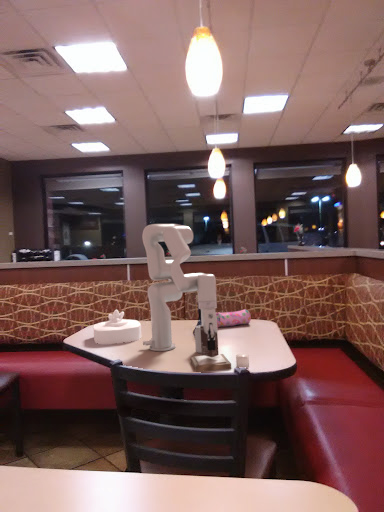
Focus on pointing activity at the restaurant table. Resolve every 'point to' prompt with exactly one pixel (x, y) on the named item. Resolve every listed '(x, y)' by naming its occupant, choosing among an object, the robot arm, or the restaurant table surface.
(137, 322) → the tissue box
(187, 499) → the restaurant table surface
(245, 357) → the white small block
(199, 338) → the can
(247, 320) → the pencil case
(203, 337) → the box
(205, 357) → the stand
